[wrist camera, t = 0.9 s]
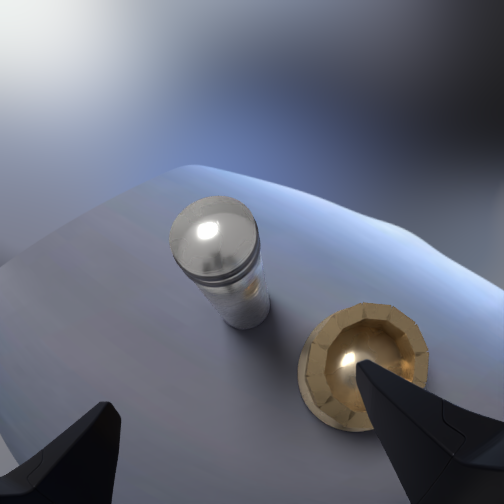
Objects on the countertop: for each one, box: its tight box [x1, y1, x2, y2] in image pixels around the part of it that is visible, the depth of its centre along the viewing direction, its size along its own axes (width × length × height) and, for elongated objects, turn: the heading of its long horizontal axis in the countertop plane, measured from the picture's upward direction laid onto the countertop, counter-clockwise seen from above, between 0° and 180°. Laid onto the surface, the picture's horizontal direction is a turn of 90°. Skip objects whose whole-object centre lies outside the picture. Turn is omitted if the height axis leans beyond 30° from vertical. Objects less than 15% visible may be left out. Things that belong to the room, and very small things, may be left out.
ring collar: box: [297, 302, 429, 432], centre depth 19 cm, size 10×10×4 cm
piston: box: [169, 196, 270, 329], centre depth 19 cm, size 5×5×12 cm
